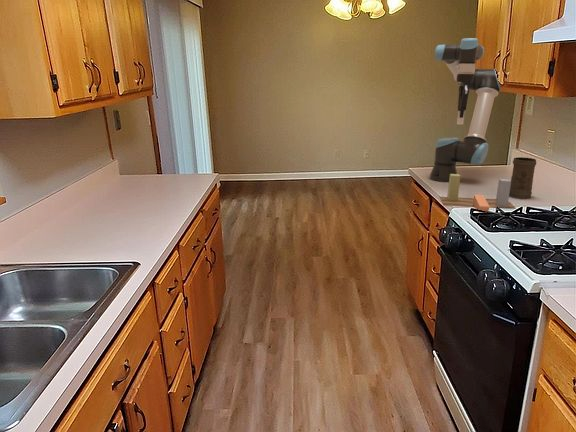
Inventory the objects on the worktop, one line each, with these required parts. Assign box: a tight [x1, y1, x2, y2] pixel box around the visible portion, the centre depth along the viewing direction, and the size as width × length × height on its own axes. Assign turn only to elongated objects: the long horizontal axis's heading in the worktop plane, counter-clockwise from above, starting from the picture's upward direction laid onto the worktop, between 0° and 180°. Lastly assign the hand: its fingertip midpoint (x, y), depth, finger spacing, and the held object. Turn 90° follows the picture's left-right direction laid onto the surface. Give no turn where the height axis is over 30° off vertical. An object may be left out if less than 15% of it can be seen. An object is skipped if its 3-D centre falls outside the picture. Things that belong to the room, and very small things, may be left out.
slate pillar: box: [495, 178, 511, 207], centre depth 204 cm, size 4×4×12 cm
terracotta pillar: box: [473, 194, 490, 213], centre depth 202 cm, size 4×4×12 cm
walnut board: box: [439, 196, 517, 210], centre depth 212 cm, size 15×31×1 cm, turn 80°
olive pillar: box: [446, 173, 461, 201], centre depth 214 cm, size 4×4×12 cm
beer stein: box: [509, 157, 537, 200], centre depth 221 cm, size 15×11×20 cm
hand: (460, 124), depth 222 cm, fingers closed
